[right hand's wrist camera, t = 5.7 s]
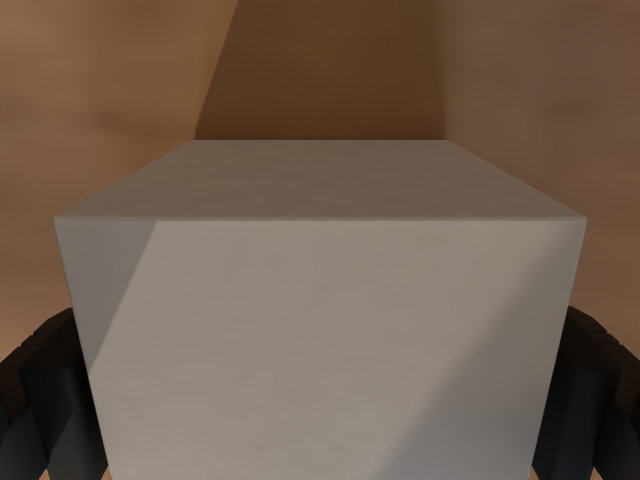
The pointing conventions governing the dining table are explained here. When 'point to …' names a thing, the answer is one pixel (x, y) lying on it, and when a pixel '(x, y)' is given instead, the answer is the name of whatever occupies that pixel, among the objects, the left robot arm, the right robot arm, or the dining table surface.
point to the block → (319, 311)
